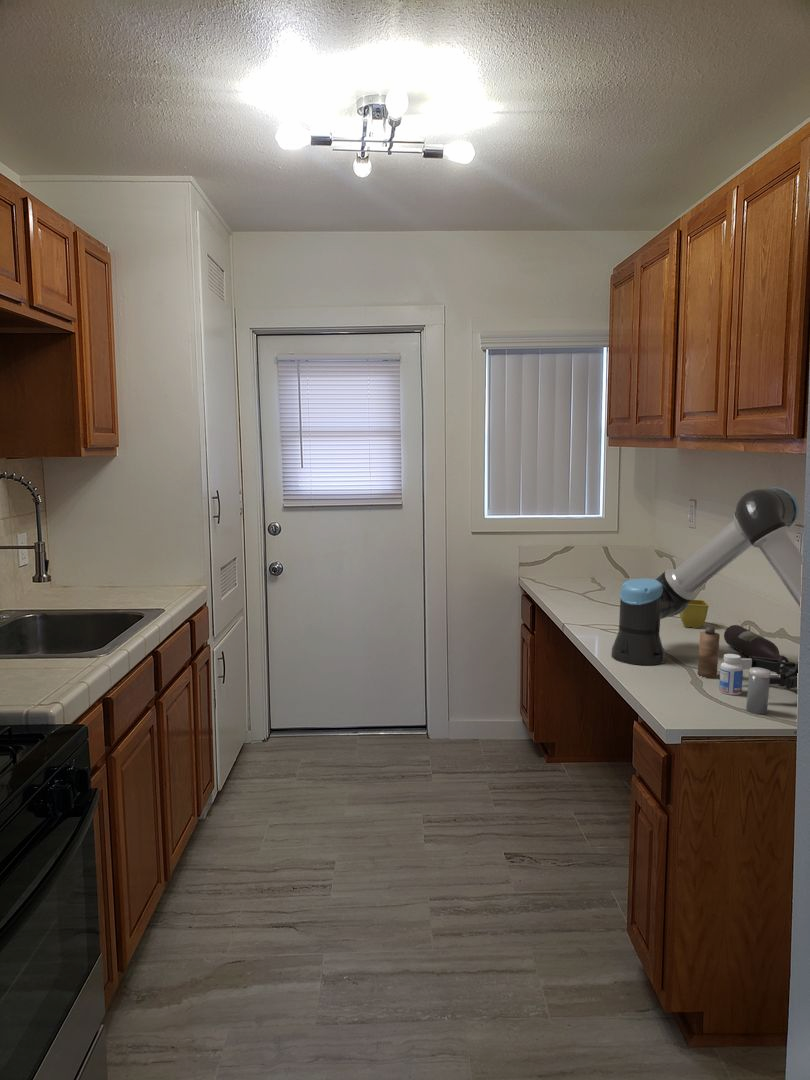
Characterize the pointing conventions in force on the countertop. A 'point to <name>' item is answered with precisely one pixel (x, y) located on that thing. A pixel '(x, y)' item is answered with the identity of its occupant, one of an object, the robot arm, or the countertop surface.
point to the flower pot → (694, 614)
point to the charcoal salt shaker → (758, 690)
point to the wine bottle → (751, 643)
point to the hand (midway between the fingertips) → (739, 671)
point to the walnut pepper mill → (708, 653)
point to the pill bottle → (731, 675)
